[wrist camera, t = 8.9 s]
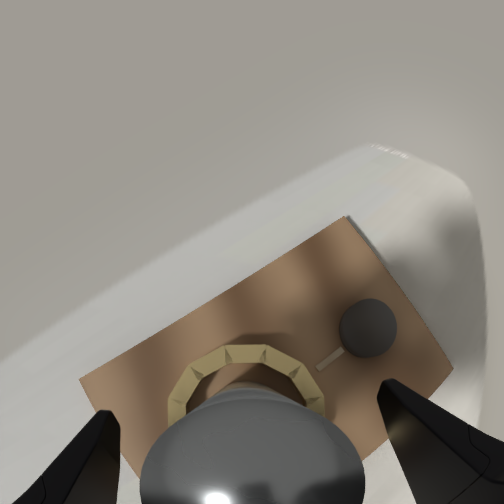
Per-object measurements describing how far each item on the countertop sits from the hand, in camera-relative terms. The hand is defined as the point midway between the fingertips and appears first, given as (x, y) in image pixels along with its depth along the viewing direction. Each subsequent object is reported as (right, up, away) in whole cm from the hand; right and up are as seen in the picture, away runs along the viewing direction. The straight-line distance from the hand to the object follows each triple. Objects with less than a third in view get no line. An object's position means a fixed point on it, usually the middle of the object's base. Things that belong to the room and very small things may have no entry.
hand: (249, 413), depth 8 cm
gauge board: (+2, -3, +8) cm, 9 cm away
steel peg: (0, -4, +7) cm, 8 cm away
